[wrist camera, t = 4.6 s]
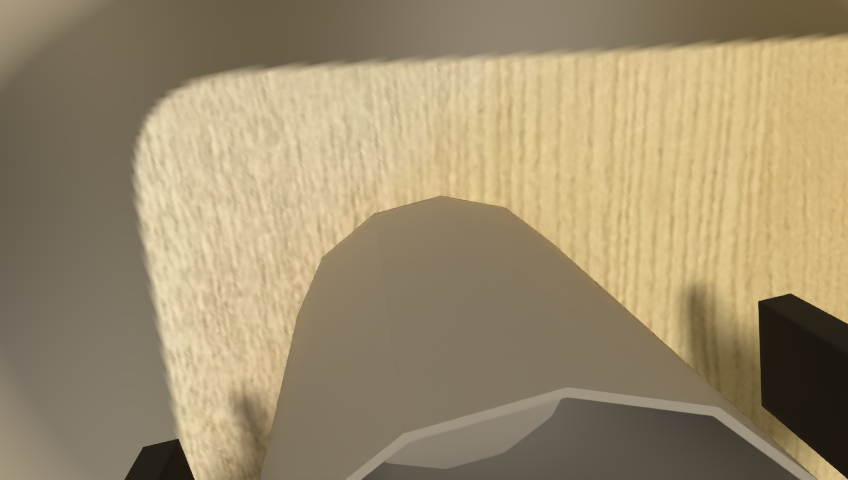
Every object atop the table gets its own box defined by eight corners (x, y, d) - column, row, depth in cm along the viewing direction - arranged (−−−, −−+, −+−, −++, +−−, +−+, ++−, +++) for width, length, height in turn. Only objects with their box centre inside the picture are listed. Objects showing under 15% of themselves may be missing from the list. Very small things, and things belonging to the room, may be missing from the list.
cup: (569, 447, 19) (790, 837, 9) (311, 470, 18) (261, 924, 8) (585, 189, 16) (906, 360, 7) (287, 202, 16) (182, 417, 6)
